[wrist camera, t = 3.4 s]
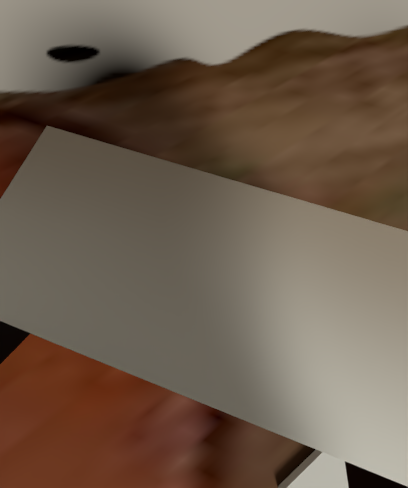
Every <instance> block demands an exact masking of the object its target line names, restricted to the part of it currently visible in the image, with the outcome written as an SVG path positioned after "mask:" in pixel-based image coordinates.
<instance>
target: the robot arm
mask: <svg viewBox="0 0 408 488" xmlns="http://www.w3.org/2000/svg"><path fill="white" fill-rule="evenodd" d="M29 334H30V333H29V332H26V331H24V330H21V329H19V328H16V327H14V326H11V325H9V324H7V323H4V322H2V321H0V364H1V363H2V362H3V361H4V360H5V359H6V358H7V357H8V356H9V355H10V354H11V353H12V352H13V351H14V350H15V349H16V348H17V347H18V345H19V344H20V343H21V342H22V341H23V340H24V339H25V338H26V337H27V336H28V335H29ZM345 467H346V473H347V480H348V486H349V488H408V487H407V486H405V485H402V484H400V483H397V482H395V481H392V480H390V479H387V478H385V477H383V476H380V475H378V474H375V473H373V472H370V471H368V470H365V469H363V468H360V467H358V466H356V465H353V464H351V463H348V462H346V461H345Z"/></svg>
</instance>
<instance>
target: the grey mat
mask: <svg viewBox="0 0 408 488" xmlns="http://www.w3.org/2000/svg"><path fill="white" fill-rule="evenodd" d="M278 488H349V486H348V480H347V473H346V467H345V461H343V460H341V459H338V458H336V457H333V456H331V455H328V454H326V453H324V452H321V451H319V450H315V451H314V452H313V453H312V454H311V455H310V456H308V457H307V458H306V459H305V460H304V461H303V462H302V463H301V464H300V465H299V466H298V467H297V468H296V469H295V470H294V471H293V472H292V473H291V474H290V475H289V476H288V477H287V478H286V479H285V480H284V481H283V482H282V483H281V484H280V485H279V486H278Z"/></svg>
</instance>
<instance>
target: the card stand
mask: <svg viewBox="0 0 408 488" xmlns="http://www.w3.org/2000/svg"><path fill="white" fill-rule="evenodd" d="M0 321H2V322H4V323H7V324H9V325H11V326H14V327H16V328H19V329H21V330H24V331H26V332H29V333H31V334H34V335H36V336H38V337H41V338H43V339H46V340H48V341H51V342H53V343H56V344H58V345H61V346H63V347H66V348H68V349H70V350H73V351H75V352H78V353H80V354H83V355H85V356H88V357H90V358H93V359H95V360H97V361H100V362H102V363H105V364H107V365H110V366H112V367H115V368H117V369H120V370H122V371H124V372H127V373H129V374H132V375H134V376H137V377H139V378H142V379H144V380H147V381H149V382H152V383H154V384H156V385H159V386H161V387H164V388H166V389H169V390H171V391H174V392H176V393H179V394H181V395H183V396H186V397H188V398H191V399H193V400H196V401H198V402H201V403H203V404H206V405H208V406H211V407H213V408H215V409H218V410H220V411H223V412H225V413H228V414H230V415H233V416H235V417H238V418H240V419H242V420H245V421H247V422H250V423H252V424H255V425H257V426H260V427H262V428H265V429H267V430H269V431H272V432H274V433H277V434H279V435H282V436H284V437H287V438H289V439H292V440H294V441H297V442H299V443H301V444H304V445H306V446H309V447H311V448H314V449H316V450H319V451H321V452H324V453H326V454H328V455H331V456H333V457H336V458H338V459H341V460H343V461H346V462H348V463H351V464H353V465H356V466H358V467H360V468H363V469H365V470H368V471H370V472H373V473H375V474H378V475H380V476H383V477H385V478H387V479H390V480H392V481H395V482H397V483H400V484H402V485H405V486H407V487H408V231H405V230H401V229H398V228H394V227H391V226H387V225H384V224H381V223H377V222H374V221H370V220H367V219H364V218H360V217H357V216H353V215H350V214H347V213H343V212H340V211H336V210H333V209H329V208H326V207H323V206H319V205H316V204H312V203H309V202H306V201H302V200H299V199H295V198H292V197H289V196H285V195H282V194H278V193H275V192H271V191H268V190H265V189H261V188H258V187H254V186H251V185H248V184H244V183H241V182H237V181H234V180H231V179H227V178H224V177H220V176H217V175H213V174H210V173H207V172H203V171H200V170H196V169H193V168H190V167H186V166H183V165H179V164H176V163H173V162H169V161H166V160H162V159H159V158H155V157H152V156H149V155H145V154H142V153H138V152H135V151H132V150H128V149H125V148H121V147H118V146H115V145H111V144H108V143H104V142H101V141H97V140H94V139H91V138H87V137H84V136H80V135H77V134H74V133H70V132H67V131H63V130H60V129H57V128H53V127H50V126H46V128H45V130H44V131H43V133H42V134H41V136H40V137H39V139H38V141H37V142H36V144H35V145H34V147H33V148H32V150H31V152H30V153H29V155H28V156H27V158H26V160H25V161H24V163H23V164H22V166H21V167H20V169H19V171H18V172H17V174H16V175H15V177H14V178H13V180H12V182H11V183H10V185H9V186H8V188H7V190H6V191H5V193H4V194H3V196H2V197H1V199H0Z"/></svg>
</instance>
